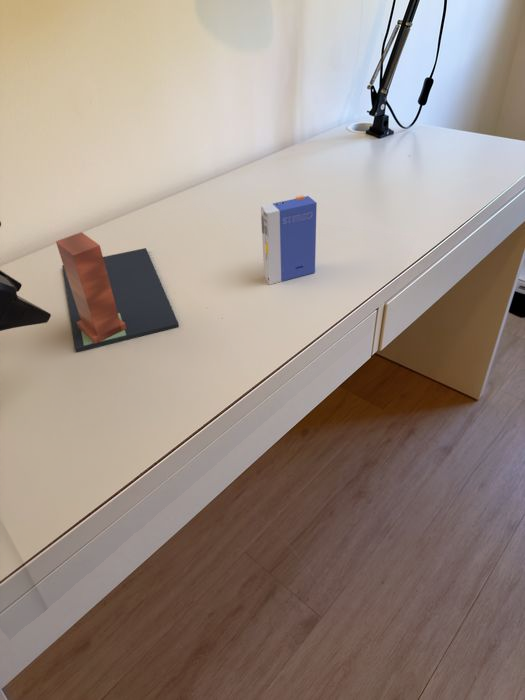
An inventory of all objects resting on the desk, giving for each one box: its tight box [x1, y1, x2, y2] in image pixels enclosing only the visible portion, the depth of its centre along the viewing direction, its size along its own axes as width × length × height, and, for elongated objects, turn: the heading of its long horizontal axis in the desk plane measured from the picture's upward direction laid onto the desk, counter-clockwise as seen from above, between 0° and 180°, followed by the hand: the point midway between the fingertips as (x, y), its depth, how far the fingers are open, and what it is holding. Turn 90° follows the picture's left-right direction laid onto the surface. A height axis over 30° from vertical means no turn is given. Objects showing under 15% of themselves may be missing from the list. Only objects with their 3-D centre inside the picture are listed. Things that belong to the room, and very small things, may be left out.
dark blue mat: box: [61, 247, 180, 353], centre depth 80 cm, size 24×14×1 cm, turn 21°
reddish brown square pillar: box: [55, 231, 127, 344], centre depth 68 cm, size 5×5×13 cm
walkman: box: [260, 194, 318, 285], centre depth 79 cm, size 8×3×12 cm, turn 112°
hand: (33, 302), depth 64 cm, fingers open, 9 cm apart
